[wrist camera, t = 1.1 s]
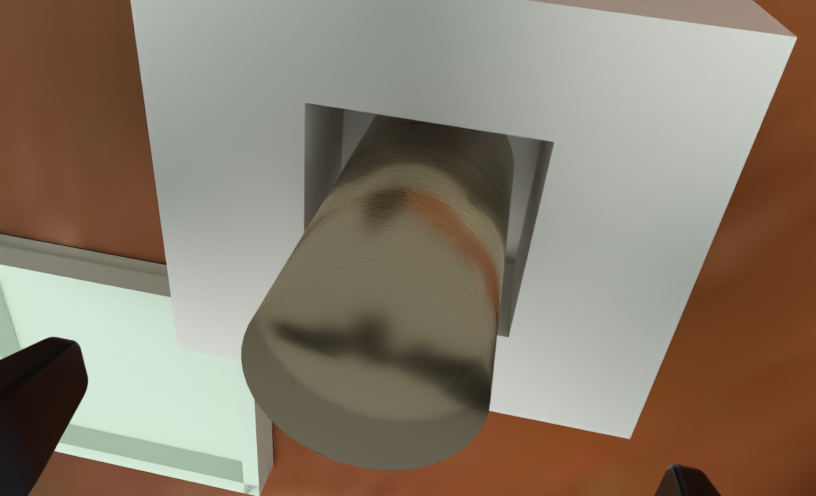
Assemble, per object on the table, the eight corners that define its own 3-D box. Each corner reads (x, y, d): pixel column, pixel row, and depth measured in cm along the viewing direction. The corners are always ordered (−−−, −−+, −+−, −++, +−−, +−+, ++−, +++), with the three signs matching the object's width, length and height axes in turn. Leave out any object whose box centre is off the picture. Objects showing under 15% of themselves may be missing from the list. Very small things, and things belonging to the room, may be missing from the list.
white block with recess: (739, -11, 14) (797, 37, 11) (616, 336, 20) (630, 438, 16) (214, -80, 15) (122, -56, 12) (237, 265, 21) (178, 348, 18)
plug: (527, 105, 16) (512, 308, 9) (499, 244, 18) (470, 490, 11) (364, 80, 16) (234, 257, 9) (357, 219, 18) (246, 443, 12)
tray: (267, 283, 21) (249, 312, 20) (273, 464, 26) (259, 496, 25) (-17, 230, 22) (-50, 254, 21) (41, 414, 27) (17, 442, 26)
